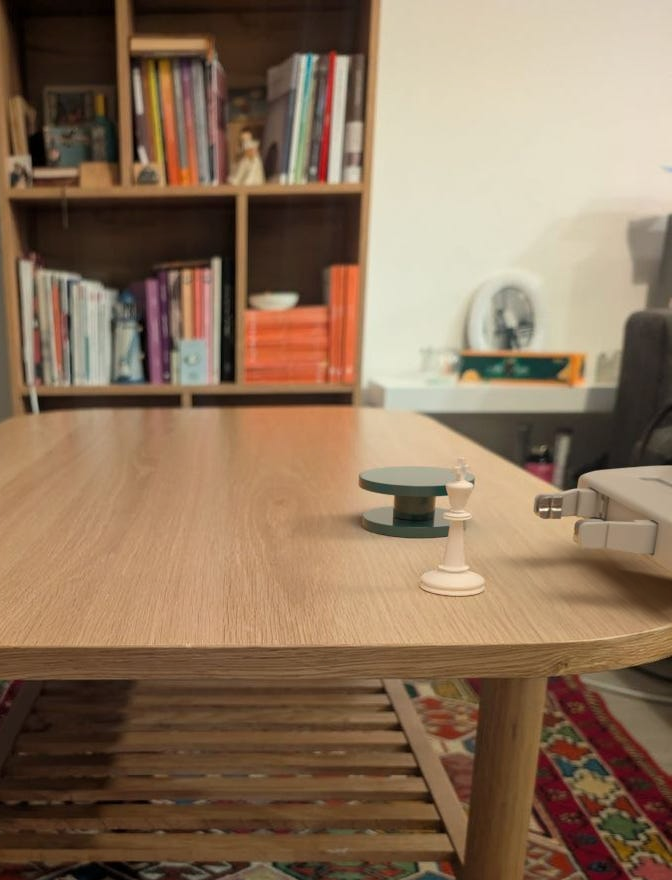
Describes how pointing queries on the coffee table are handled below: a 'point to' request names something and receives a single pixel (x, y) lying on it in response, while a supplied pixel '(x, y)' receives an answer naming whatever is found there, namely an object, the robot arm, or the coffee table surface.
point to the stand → (409, 500)
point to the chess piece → (455, 544)
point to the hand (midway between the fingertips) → (555, 519)
